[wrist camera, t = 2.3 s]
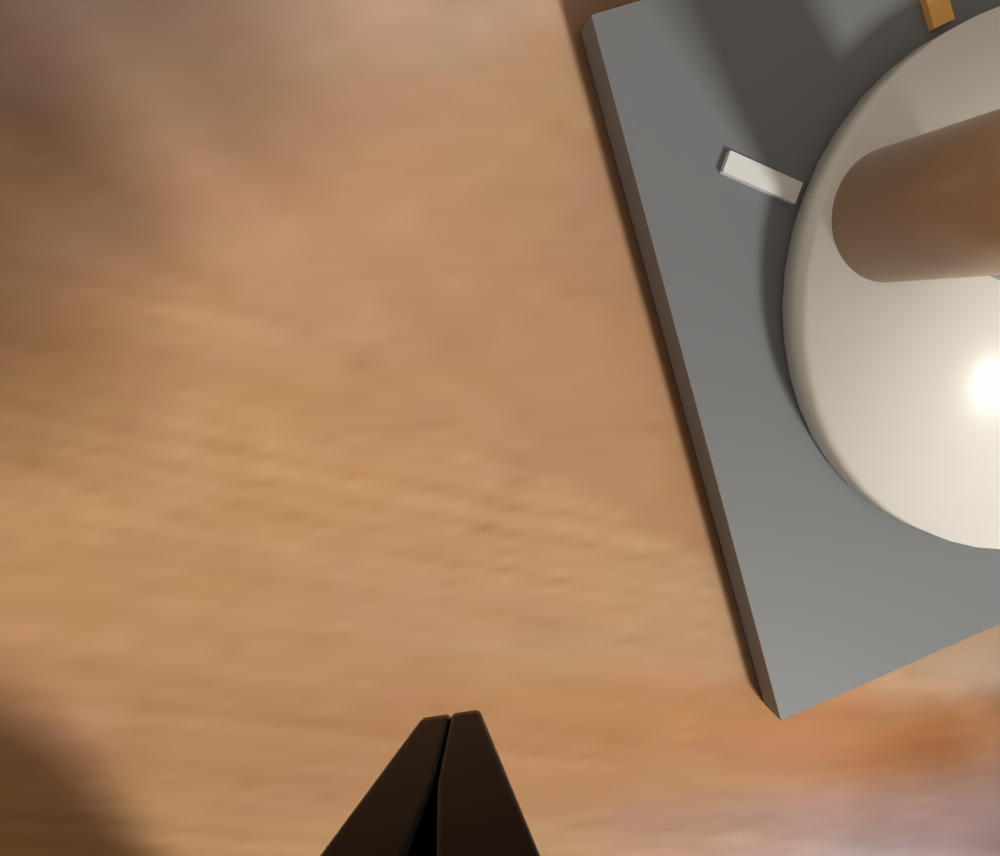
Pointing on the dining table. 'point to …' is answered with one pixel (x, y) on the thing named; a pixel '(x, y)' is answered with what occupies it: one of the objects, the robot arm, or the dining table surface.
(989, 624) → the dial plate
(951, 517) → the dial
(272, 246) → the dining table surface
